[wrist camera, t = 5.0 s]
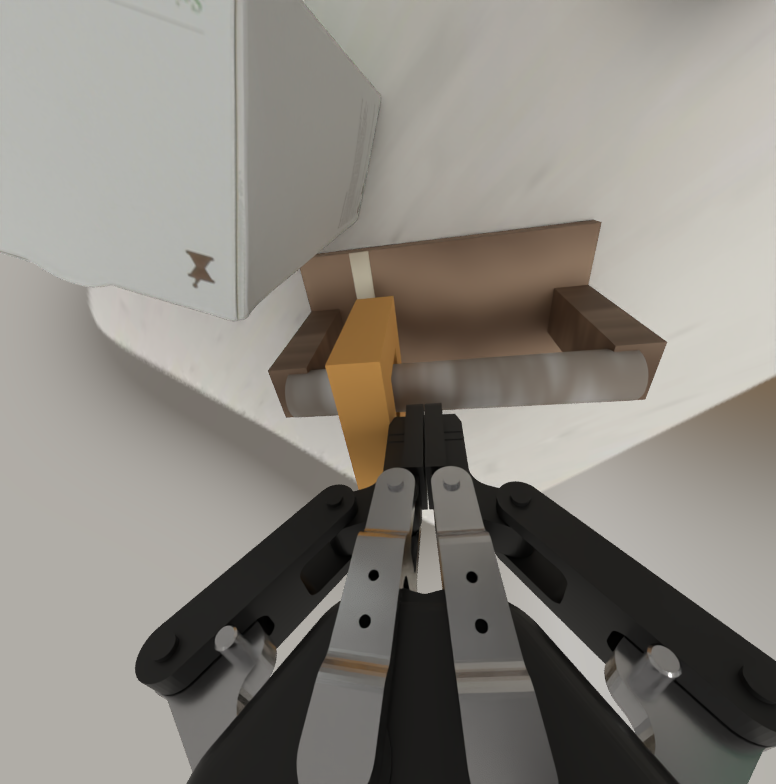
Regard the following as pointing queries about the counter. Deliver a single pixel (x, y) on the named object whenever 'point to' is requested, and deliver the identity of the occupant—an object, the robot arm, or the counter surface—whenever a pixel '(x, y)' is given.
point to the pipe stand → (476, 323)
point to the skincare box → (178, 144)
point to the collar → (366, 383)
